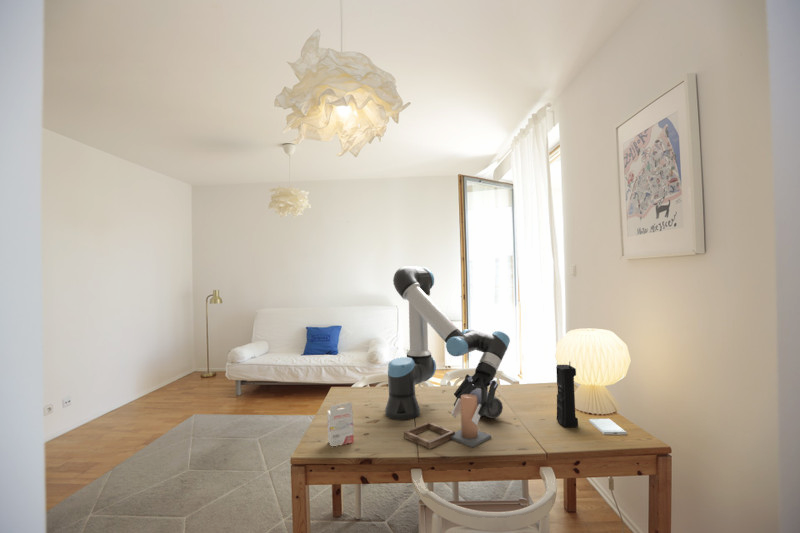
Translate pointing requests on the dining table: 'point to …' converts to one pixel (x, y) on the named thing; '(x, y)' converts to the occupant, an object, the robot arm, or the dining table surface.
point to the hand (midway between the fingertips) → (463, 419)
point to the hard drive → (607, 427)
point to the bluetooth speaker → (488, 412)
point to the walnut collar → (429, 444)
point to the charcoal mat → (471, 442)
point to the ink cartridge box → (340, 424)
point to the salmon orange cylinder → (468, 416)
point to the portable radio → (566, 396)
